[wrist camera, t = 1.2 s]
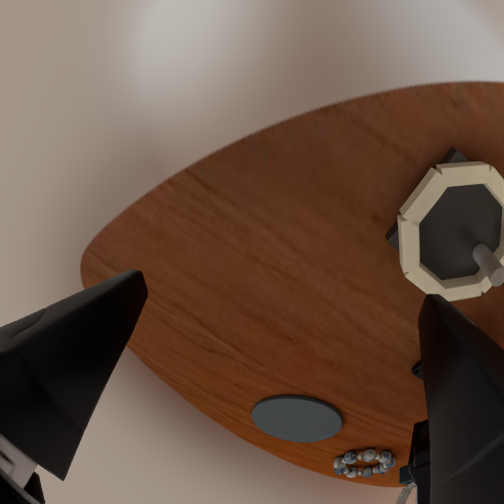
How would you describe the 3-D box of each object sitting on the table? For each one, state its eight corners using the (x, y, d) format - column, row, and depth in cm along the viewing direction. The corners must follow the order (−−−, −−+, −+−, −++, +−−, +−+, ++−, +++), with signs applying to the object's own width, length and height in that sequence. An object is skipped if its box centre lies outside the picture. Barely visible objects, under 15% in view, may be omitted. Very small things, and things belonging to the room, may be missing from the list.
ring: (530, 222, 14) (537, 229, 13) (453, 311, 19) (457, 320, 18) (455, 131, 13) (463, 133, 12) (370, 244, 18) (372, 252, 17)
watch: (443, 461, 31) (444, 514, 22) (405, 476, 35) (402, 526, 26) (431, 456, 31) (432, 513, 21) (390, 471, 35) (387, 525, 25)
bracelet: (363, 442, 31) (362, 454, 29) (408, 453, 31) (408, 464, 29) (321, 461, 36) (320, 472, 34) (366, 472, 36) (365, 482, 34)
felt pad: (361, 418, 29) (361, 421, 28) (304, 446, 34) (304, 448, 34) (285, 382, 28) (284, 386, 28) (237, 416, 34) (236, 419, 33)
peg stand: (514, 218, 15) (544, 244, 11) (451, 292, 19) (468, 329, 15) (452, 146, 15) (482, 158, 11) (384, 235, 19) (395, 268, 15)
